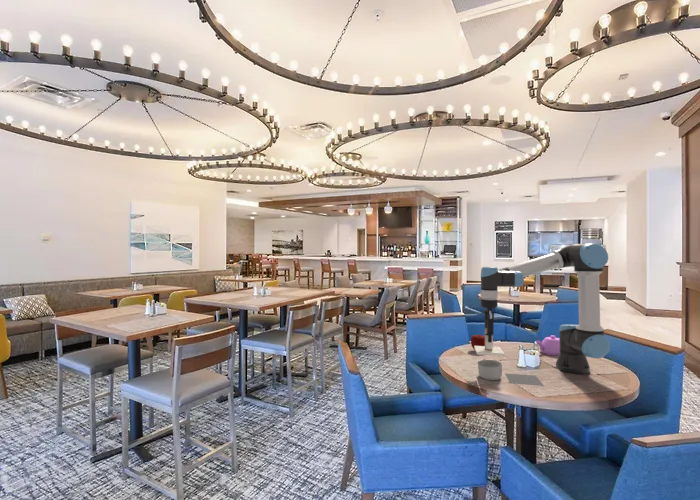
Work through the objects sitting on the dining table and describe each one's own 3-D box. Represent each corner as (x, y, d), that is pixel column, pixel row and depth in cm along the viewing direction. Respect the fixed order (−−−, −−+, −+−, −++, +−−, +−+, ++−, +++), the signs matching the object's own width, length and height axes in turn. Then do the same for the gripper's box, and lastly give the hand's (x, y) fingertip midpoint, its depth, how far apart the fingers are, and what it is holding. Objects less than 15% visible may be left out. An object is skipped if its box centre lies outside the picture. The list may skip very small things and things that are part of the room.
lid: (499, 349, 182) (499, 326, 182) (504, 356, 171) (504, 331, 171) (474, 348, 185) (474, 325, 185) (477, 354, 173) (477, 330, 173)
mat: (535, 377, 179) (535, 375, 179) (544, 387, 165) (543, 385, 165) (504, 375, 182) (504, 373, 182) (510, 385, 168) (510, 383, 168)
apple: (485, 354, 220) (485, 337, 220) (468, 351, 225) (468, 335, 225) (488, 350, 228) (488, 334, 228) (473, 348, 233) (473, 332, 233)
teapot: (529, 351, 227) (529, 333, 227) (557, 349, 230) (557, 332, 230) (545, 357, 213) (545, 339, 213) (575, 355, 217) (575, 337, 217)
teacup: (504, 384, 170) (504, 366, 170) (479, 382, 172) (479, 365, 172) (498, 374, 183) (498, 358, 183) (475, 372, 186) (475, 356, 186)
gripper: (478, 296, 187) (478, 343, 187) (483, 300, 171) (482, 351, 170) (494, 297, 185) (494, 344, 185) (500, 301, 169) (500, 352, 169)
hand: (488, 347), depth 178 cm, fingers closed on lid, 3 cm apart
